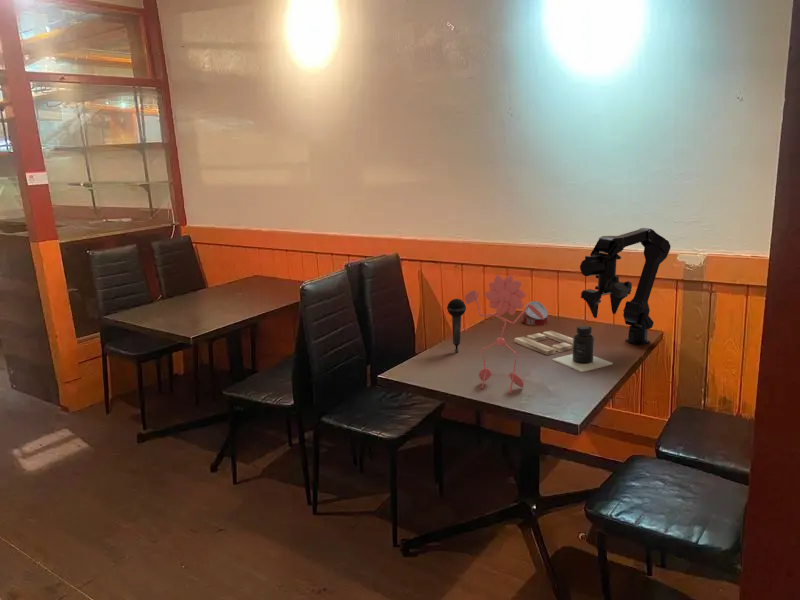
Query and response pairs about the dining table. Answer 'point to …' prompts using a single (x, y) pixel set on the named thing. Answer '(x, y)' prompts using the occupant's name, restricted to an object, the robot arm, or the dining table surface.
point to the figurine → (504, 299)
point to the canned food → (531, 317)
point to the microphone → (456, 319)
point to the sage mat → (580, 367)
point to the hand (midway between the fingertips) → (604, 315)
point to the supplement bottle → (583, 345)
